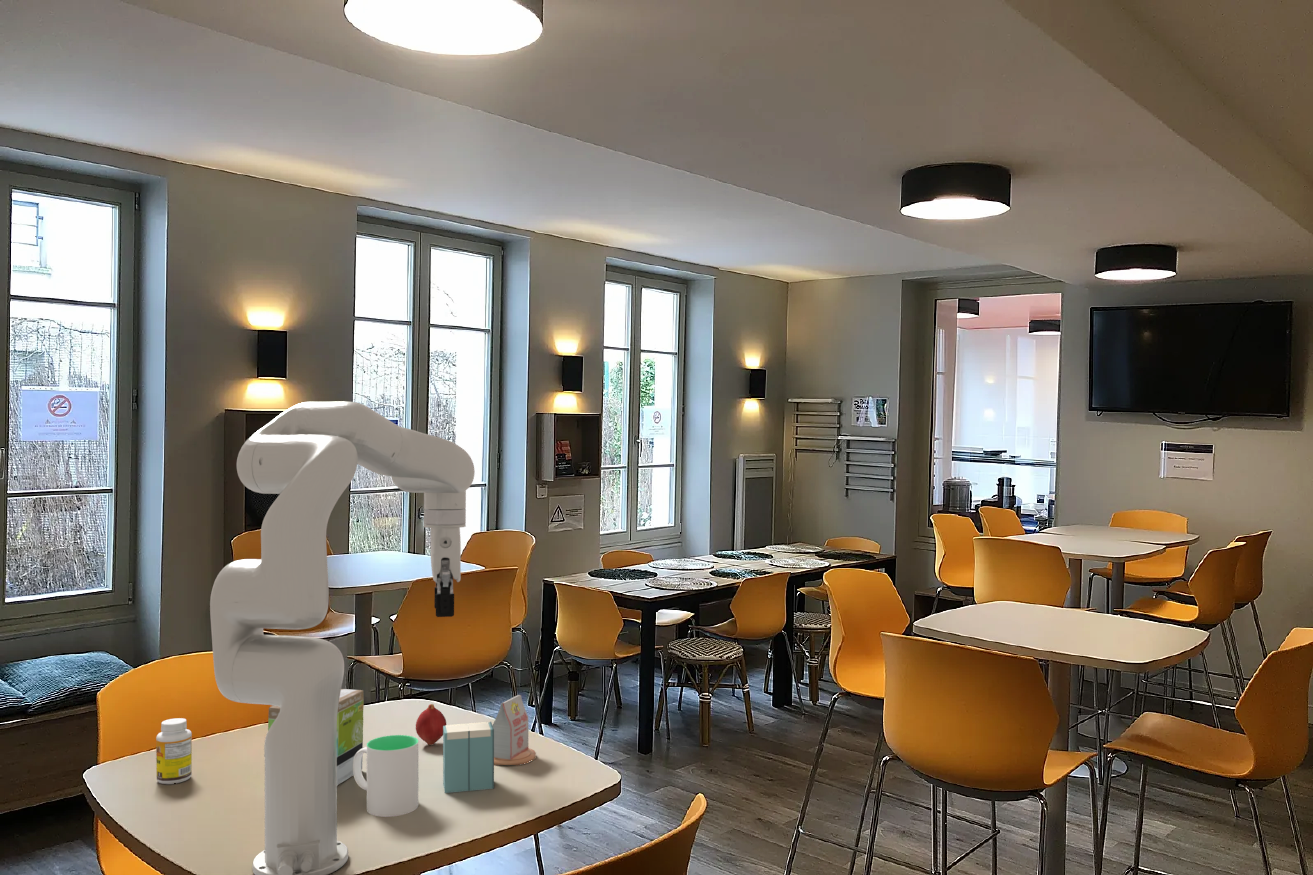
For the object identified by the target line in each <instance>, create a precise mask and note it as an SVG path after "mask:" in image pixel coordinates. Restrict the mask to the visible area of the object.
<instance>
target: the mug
mask: <svg viewBox="0 0 1313 875" xmlns="http://www.w3.org/2000/svg"><path fill="white" fill-rule="evenodd" d="M363 754H366V779H365V778H364V776H363V772H362V770H361V758H362V755H363ZM353 777H354V778H353V779H354V780H355V781H354V782H356V784H357V785H358V787H360V788H361V789H362V790H364V791H366V811H367V813H368V814H370V815H372V816H376V817H384V818H385V817H386V818H387V817H389V818H390V817H397V816H403V815H406V814H409V813H412V812H414V811H415V810H417V809H418V807H419V738H417V737H416V736H412V735H407V734H405V735H404V734H402V735H401V734H394V735H393V734H392V735H384V736H379V737H377V738H372V739H371V740H368V742H367V743H366V746H365V747H364V746H363V748H362V749H360V750H359V751H358V752H357V753H356V754H355V756H354V760H353Z"/></svg>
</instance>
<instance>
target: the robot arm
mask: <svg viewBox="0 0 1313 875" xmlns="http://www.w3.org/2000/svg"><path fill="white" fill-rule="evenodd" d="M357 466H360V467H363V468H364V469H366V470H369V471H370V472H373V473H374V474H377V475H382V476H386V477H391V480H392V482H393V483H394V485H395V486H396V487H397V488H398V489H399V490H401V491H402V492H403V491H404V492H406V493H413V494H414V493H416V494H417V493H418V494H419V493H420V494H423V528H427V529H428V528H429V529H430V566H431V574H432V579H433V581H434V582H435V586H434V601H433V602H434V609H435V616H436V618H447V617H448V618H451V617H454V615H455V593H454V580H456V582H457V583H459V582H460V581H461V576H462V575H461V570H462V569H461V563H462V562H461V557H462V556H461V554H462V553H461V552H462V551H461V550H462V548H461V546H462V545H461V528H465V527H467V526H466V519H467V516H466V511H467V510H466V507H467V506H466V504H467V502H466V501H467V499H466V498H467V490H468V489H469V488H470V487H471V485H472V484H473V482H474V478H475V474H476V473H475V466H474V461H473V459H472V458H471V456H470V454H469V453H468V451H466V449H463V447H461V446H460V445H458V444H456V443H455V442H452V441H450V440H448V439H446V438H442V437H439V436H435V435H431V434H428V433H424V432H420V431H417V430H414V429H411V428H407V427H402V426H399V425H398V424H396V423H394V422H393V421H391V420H390V419H387V417H384V416H383V415H382V414H380V413H378V412H376V411H375V410H373V409H372V408H370V407H369V406H366V405H365V404H363V403H359V402H355V401H347V400H343V401H342V400H341V401H339V400H337V401H304V402H301V403H300V402H299V403H297V404H295V405H293V406H291V407H289V408H288V409H285V410H284V411H283V412H281V413H279V415H277V416H275V418H273V419H272V420H270V421H269V422H268V423H266V424H265V425H264V426H263V427H261V428H259V429H258V430H257V431H256V432H254V433H253V434H252V435H251V436H249V438H247V439H246V440H245V442H244V443H243V445H242V446H241V448H240V450H239V451H238V454H237V459H236V471H237V476H238V478H239V480H240V482H241V483H242V485H243V486H244V487H246V488H247V489H248V490H251V491H252V492H254V493H259V494H263V495H265V494H266V495H267V494H268V495H271V494H273V495H276V494H277V495H278V496H277V498H276V499H275V500H274V501H273V503H272V504H271V505H270V506H269V508H268V510H267V512H266V514H265V516H264V517H263V520H262V524H261V528H260V544H261V545H260V546H261V547H260V548H261V549H260V550H261V553H260V556H261V557H260V558H244V559H243V558H242V559H238V560H237V559H236V560H234V561H232V562H230V563H227V564H226V565H225V566H224V567H223V568H222V569H221V570H220V571H219V573H218V574H217V576H216V578H215V580H214V582H213V586H212V589H211V592H210V593H211V594H210V598H209V599H210V601H209V606H210V607H209V611H210V612H209V614H210V630H211V631H210V632H211V643H212V645H211V646H212V657H213V658H212V659H213V660H212V661H213V669H214V670H213V671H214V679H215V682H216V685H217V689H218V690H219V692H220V694H221V695H222V696H223V697H224V698H225V699H227V700H229V701H231V702H235V703H241V704H251V705H252V704H253V705H266V706H267V705H268V706H271V707H272V706H279V707H280V713H279V715H278V716H277V718H276V719H275V721H274V722H273V724H272V725H271V727H270V729H269V730H268V729H267V732H266V735H265V737H264V738H265V739H264V744H263V745H264V746H263V747H264V749H263V750H264V751H263V752H264V754H263V757H264V850H262V851H260V852H259V853H258V854H257V855H256V856H255V857H254V859H253V861H252V872H253V874H254V875H330V874H331V873H332V874H333V873H334V872H335V871H337V870H339V869H340V868H342V867H343V866H344V865H345V864H346V863H347V861H348V860H349V848H348V846H347V845H346V844H345V843H343V841H340V840H338V831H337V830H338V828H337V827H338V823H337V822H338V818H337V817H338V814H337V813H338V809H337V808H338V807H337V806H338V805H337V804H338V801H337V800H338V798H337V797H338V785H337V713H338V704H339V698H340V692H341V689H342V686H343V682H344V681H343V680H344V674H345V661H344V659H345V658H344V657H343V656H344V655H343V653H342V652H341V650H340V649H339V647H337V645H335V644H334V643H332V642H331V641H329V640H326V639H323V638H319V637H314V636H301V635H299V636H297V635H284V634H283V635H274V634H264V629H269V630H270V629H272V630H275V629H277V630H306V629H311V628H314V627H316V626H318V625H320V624H321V623H322V622H323V621H324V619H325V618H326V615H327V613H328V610H329V600H330V599H329V598H330V597H329V595H330V594H329V591H330V590H329V573H328V572H329V570H328V554H327V553H328V552H327V528H328V522H329V519H330V516H331V513H332V511H333V509H334V507H335V505H336V504H337V502H338V500H339V499H340V497H341V496H342V494H344V491H346V489H347V487H348V486H349V485H350V484H351V482H352V481H353V478H354V477H355V474H356V471H357Z"/></svg>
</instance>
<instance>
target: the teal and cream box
mask: <svg viewBox="0 0 1313 875" xmlns="http://www.w3.org/2000/svg"><path fill="white" fill-rule="evenodd" d="M442 737H443V738H442V752H443V753H442V756H443V758H442V762H443V763H442V768H443V770H442V776H443V778H442V779H443V780H442V786H443V790H444V794H448V793H449V794H450V793H461V792H470V791H471V792H472V791H483V790H492V789H495V765H494V728H493V722H492V721H489V722H488V721H482V722H470V723H469V722H467V723H458V724H457V723H455V724H446V726H443V736H442Z"/></svg>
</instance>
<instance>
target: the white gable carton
mask: <svg viewBox="0 0 1313 875" xmlns="http://www.w3.org/2000/svg"><path fill="white" fill-rule="evenodd" d="M493 721H494V722H492V725H493V728H494V758H502V759H509V760H511V759H512V758H514V757H516V756H517V755H519V754H521V753H522V752H524V751H525V750H527V749H528V748H529V715H528V712H527V710H526V707H525V705H524V702H523V698H522V694H517V695H516V696H513V697H511V698H509V699H508V700H506V701H504V702H501V703H500V707H499V710H498V713H497V715H496V717H495V719H494V720H493Z"/></svg>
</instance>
